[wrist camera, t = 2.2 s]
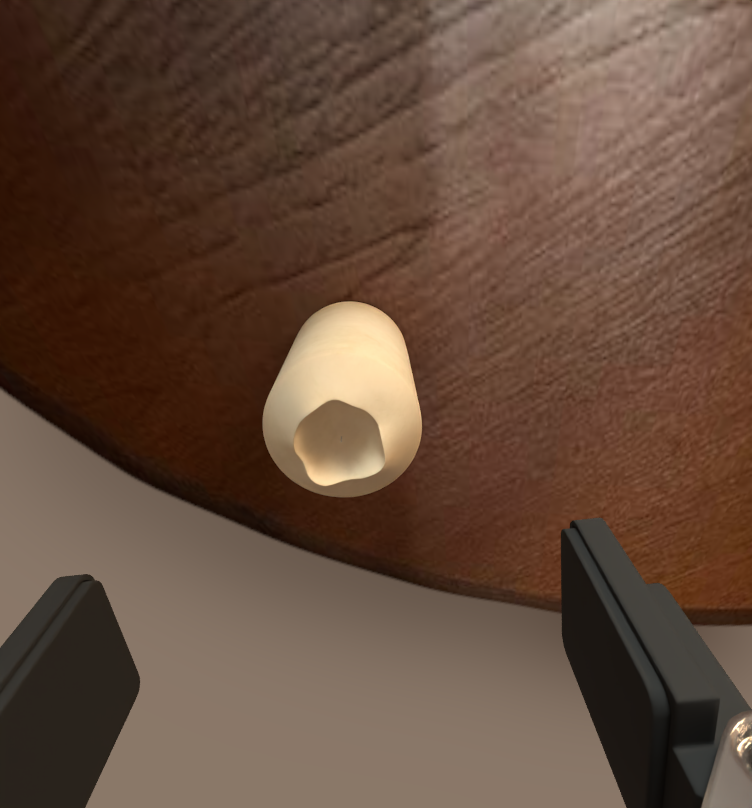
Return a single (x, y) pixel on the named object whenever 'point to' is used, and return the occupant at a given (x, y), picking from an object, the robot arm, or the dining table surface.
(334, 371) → the candle
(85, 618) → the robot arm
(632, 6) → the dining table surface
